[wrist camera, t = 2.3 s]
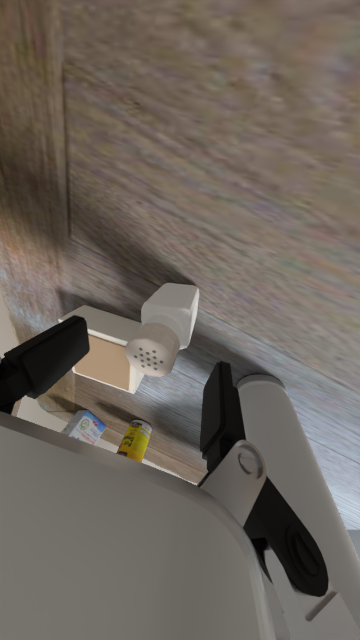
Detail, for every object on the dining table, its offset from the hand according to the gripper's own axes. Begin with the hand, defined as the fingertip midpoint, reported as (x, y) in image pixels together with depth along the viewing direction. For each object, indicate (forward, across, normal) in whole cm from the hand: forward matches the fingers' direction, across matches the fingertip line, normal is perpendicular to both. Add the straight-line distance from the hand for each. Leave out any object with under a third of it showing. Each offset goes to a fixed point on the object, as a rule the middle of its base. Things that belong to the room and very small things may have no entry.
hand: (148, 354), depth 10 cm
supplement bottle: (+10, +2, +34) cm, 35 cm away
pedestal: (+9, +8, +9) cm, 15 cm away
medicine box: (+10, +16, +41) cm, 45 cm away
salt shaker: (+9, 0, -1) cm, 9 cm away
